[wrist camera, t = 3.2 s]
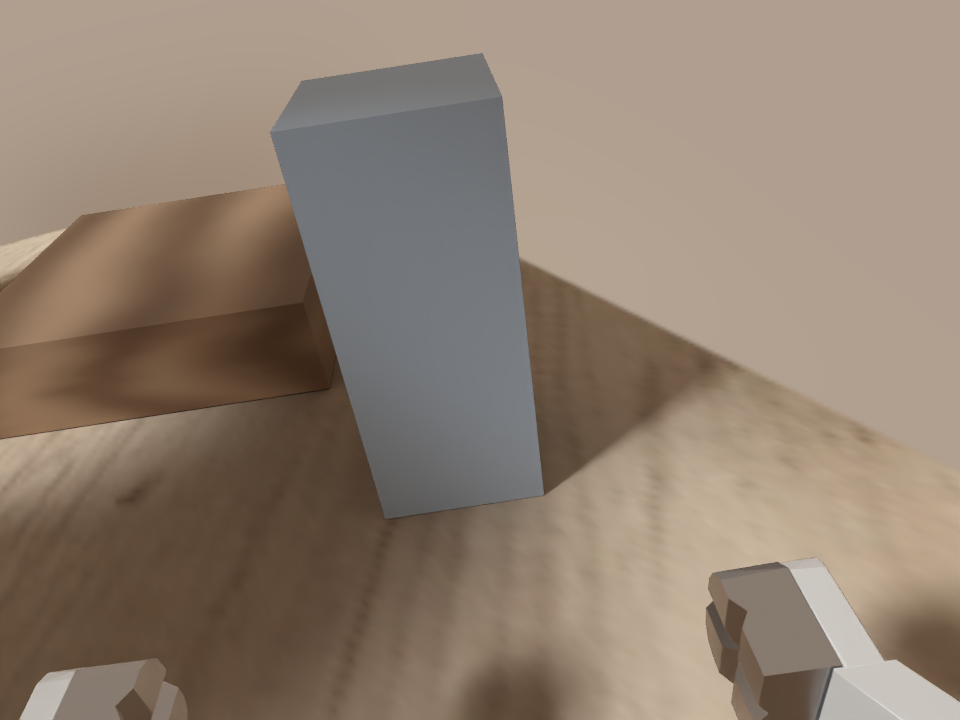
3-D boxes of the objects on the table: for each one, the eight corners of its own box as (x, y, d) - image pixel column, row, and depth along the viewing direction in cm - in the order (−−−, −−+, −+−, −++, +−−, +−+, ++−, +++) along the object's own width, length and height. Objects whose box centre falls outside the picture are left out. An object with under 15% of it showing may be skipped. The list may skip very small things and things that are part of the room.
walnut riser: (-14, 440, 28) (-71, 359, 25) (112, 280, 39) (81, 215, 37) (330, 388, 28) (302, 302, 25) (354, 243, 39) (337, 176, 37)
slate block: (385, 519, 21) (270, 132, 15) (389, 418, 25) (301, 80, 19) (543, 495, 21) (502, 96, 15) (522, 398, 25) (482, 53, 19)
